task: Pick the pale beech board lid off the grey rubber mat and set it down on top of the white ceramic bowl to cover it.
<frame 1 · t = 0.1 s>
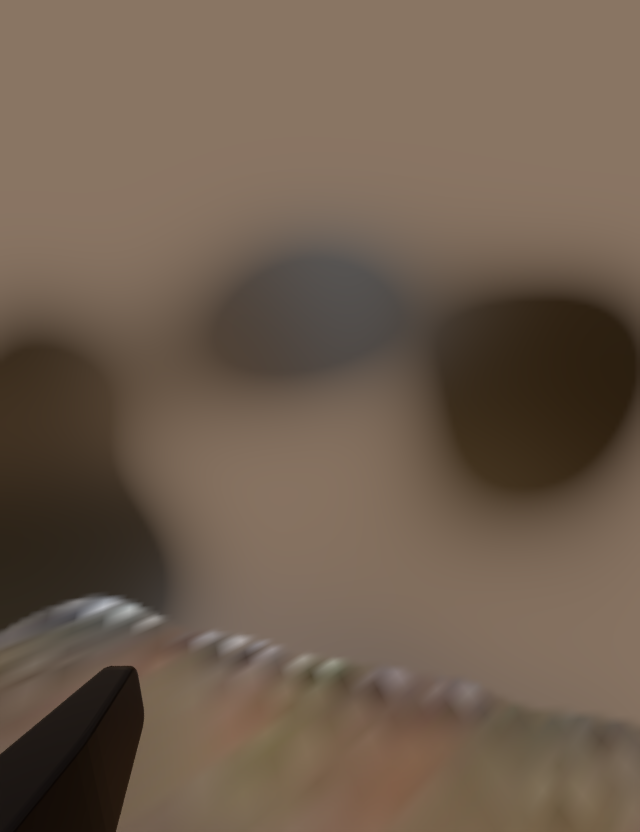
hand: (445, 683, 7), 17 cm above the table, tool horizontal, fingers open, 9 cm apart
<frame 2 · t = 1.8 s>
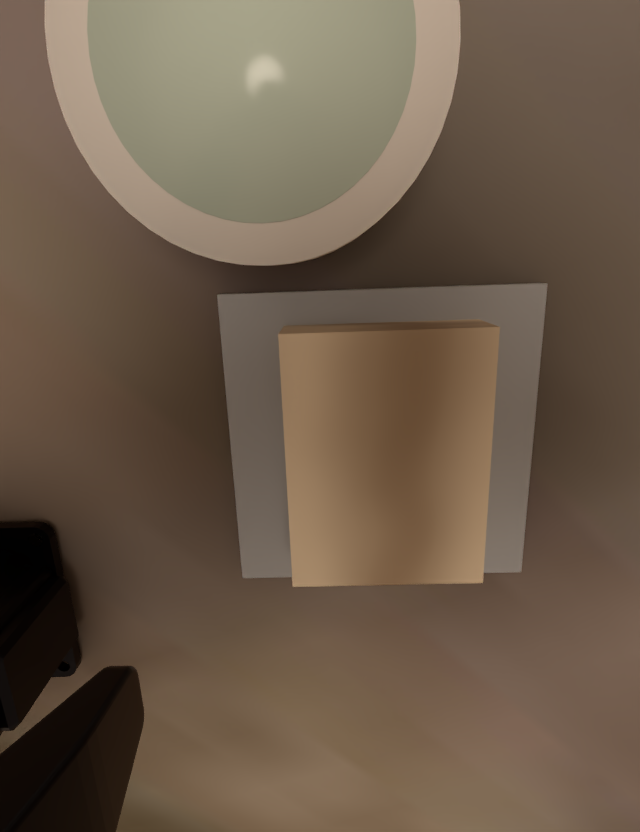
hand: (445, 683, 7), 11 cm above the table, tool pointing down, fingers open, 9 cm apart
bowl: (274, 112, 15), on the table
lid: (381, 444, 17), point 1 cm above the table, touching mat
mat: (379, 438, 17), on the table
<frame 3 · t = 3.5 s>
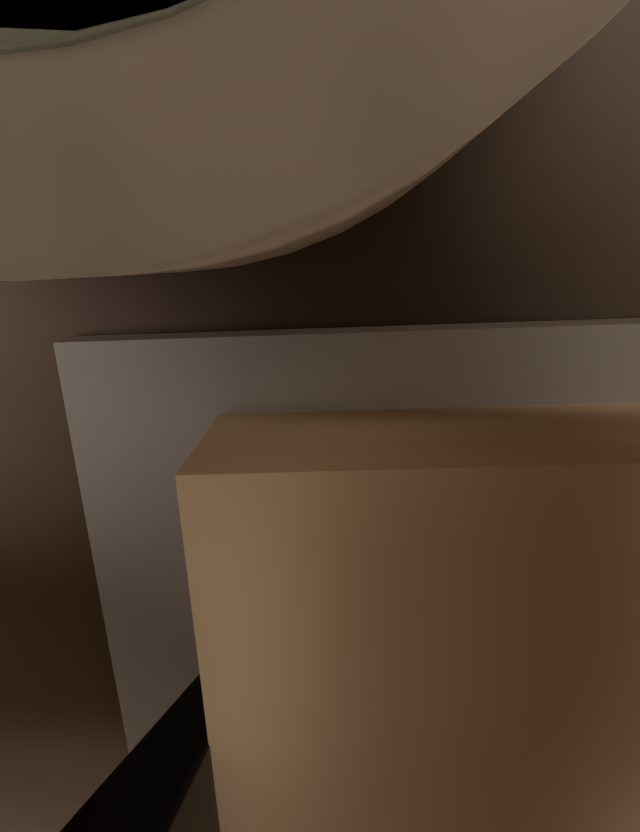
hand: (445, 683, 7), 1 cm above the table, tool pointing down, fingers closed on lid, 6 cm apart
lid: (439, 661, 8), point 1 cm above the table, touching gripper, mat
mat: (431, 633, 8), on the table
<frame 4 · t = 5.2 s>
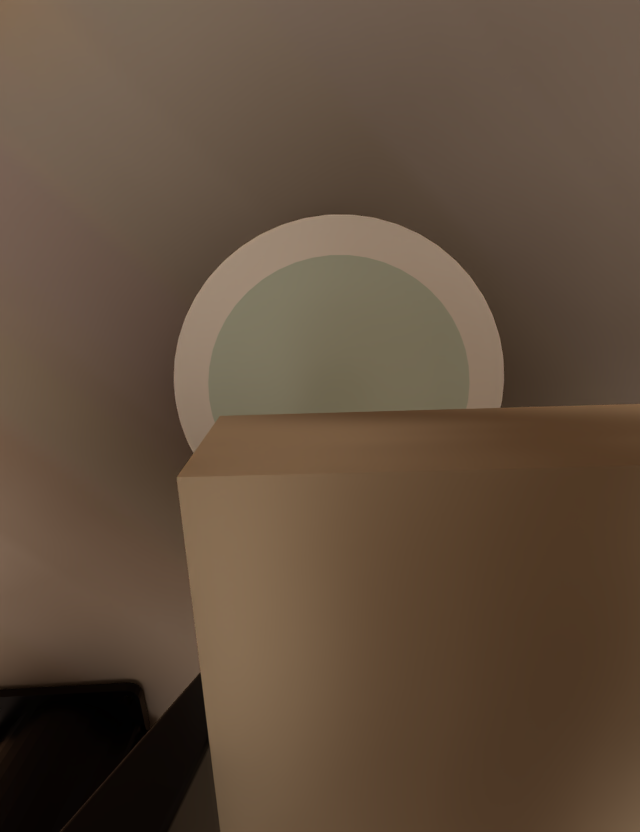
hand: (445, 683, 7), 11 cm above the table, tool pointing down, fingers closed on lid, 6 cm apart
bowl: (334, 359, 17), on the table
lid: (440, 662, 8), point 11 cm above the table, touching gripper
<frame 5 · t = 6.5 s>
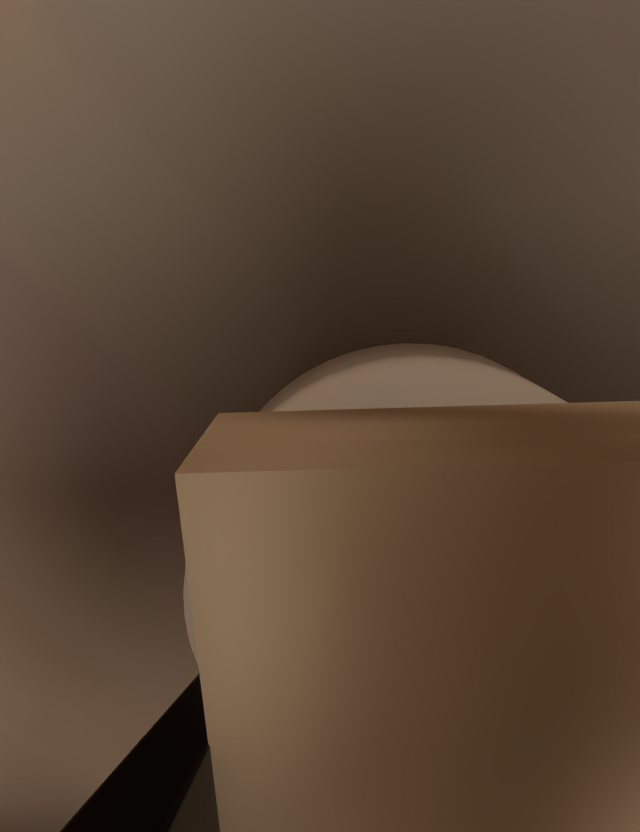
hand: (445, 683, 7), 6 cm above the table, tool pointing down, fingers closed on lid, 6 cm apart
bowl: (393, 497, 13), on the table
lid: (439, 660, 8), point 6 cm above the table, touching gripper
when the fingers open (6 cm above the table, at t = 7.2 s): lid stays where it is, resting on bowl.
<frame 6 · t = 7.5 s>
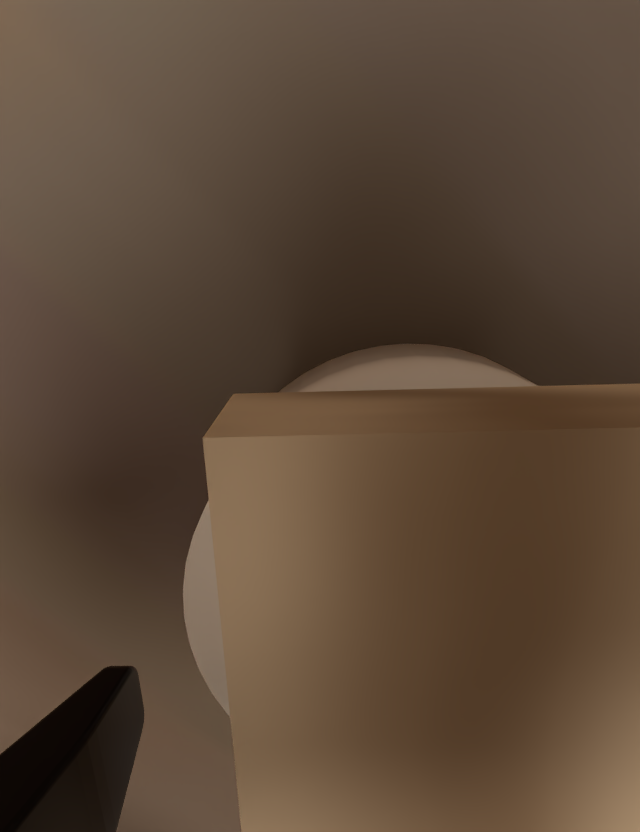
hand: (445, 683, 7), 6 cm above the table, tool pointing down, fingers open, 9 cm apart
bowl: (393, 498, 13), on the table
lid: (427, 617, 9), point 5 cm above the table, touching bowl
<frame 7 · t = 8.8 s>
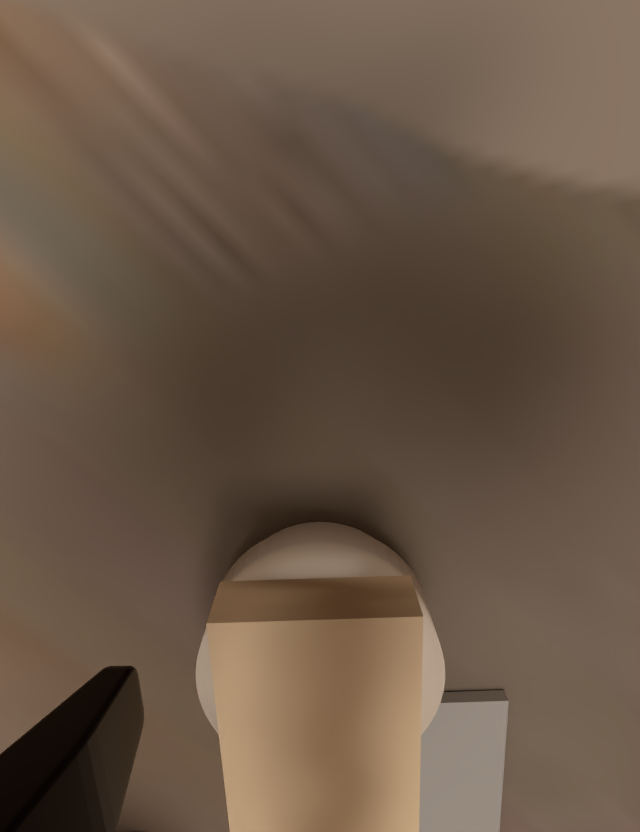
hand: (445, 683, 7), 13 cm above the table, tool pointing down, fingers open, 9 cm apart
bowl: (320, 599, 21), on the table
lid: (319, 683, 17), point 5 cm above the table, touching bowl
mat: (392, 780, 24), on the table
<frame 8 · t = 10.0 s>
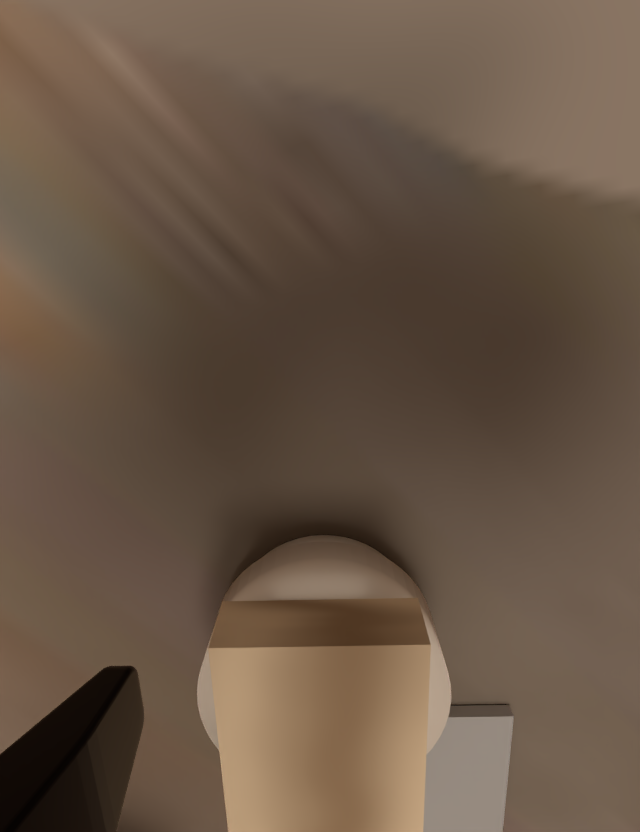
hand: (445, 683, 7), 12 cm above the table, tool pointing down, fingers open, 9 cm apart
bowl: (324, 612, 21), on the table
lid: (323, 703, 17), point 5 cm above the table, touching bowl
mat: (394, 791, 24), on the table
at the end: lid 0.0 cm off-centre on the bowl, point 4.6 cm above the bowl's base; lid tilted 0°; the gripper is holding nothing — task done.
